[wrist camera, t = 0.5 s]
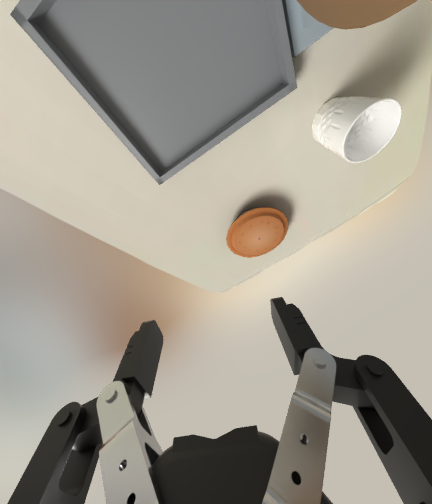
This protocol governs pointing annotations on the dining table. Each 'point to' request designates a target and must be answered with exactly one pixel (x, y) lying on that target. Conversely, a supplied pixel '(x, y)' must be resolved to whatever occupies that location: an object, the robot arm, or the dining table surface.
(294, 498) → the robot arm
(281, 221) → the pie
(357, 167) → the dining table surface
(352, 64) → the dining table surface
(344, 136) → the white cup
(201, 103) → the tray
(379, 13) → the mallet
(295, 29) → the pedestal
